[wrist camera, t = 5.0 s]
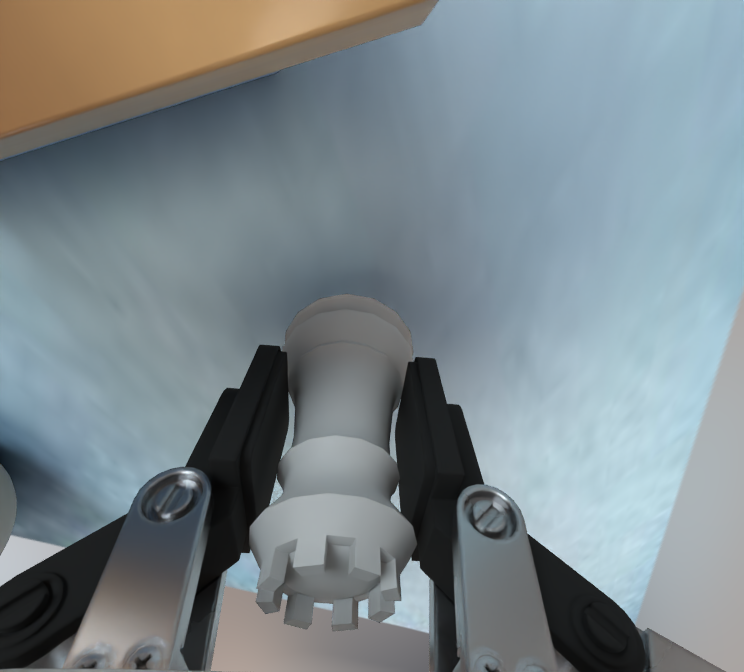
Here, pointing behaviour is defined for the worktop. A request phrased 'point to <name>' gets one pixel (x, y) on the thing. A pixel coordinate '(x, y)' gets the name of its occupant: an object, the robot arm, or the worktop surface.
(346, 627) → the rook chess piece
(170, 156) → the worktop surface
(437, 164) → the worktop surface
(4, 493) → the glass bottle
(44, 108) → the board
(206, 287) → the worktop surface
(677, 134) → the worktop surface
